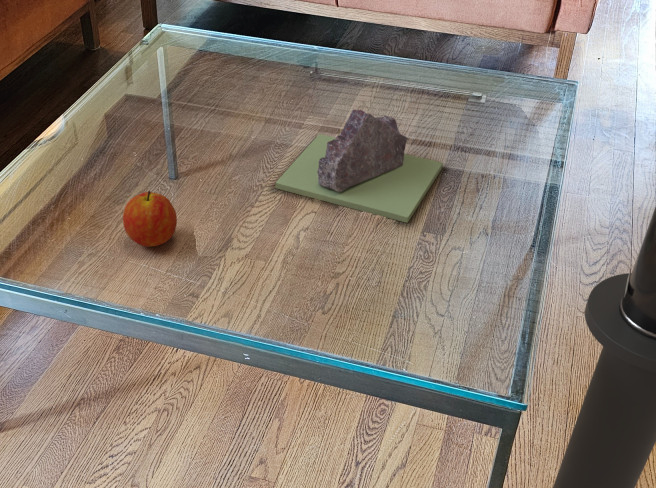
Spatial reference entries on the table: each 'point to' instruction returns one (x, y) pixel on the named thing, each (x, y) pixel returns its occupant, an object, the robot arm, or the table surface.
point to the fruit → (149, 219)
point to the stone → (361, 151)
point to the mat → (364, 184)
